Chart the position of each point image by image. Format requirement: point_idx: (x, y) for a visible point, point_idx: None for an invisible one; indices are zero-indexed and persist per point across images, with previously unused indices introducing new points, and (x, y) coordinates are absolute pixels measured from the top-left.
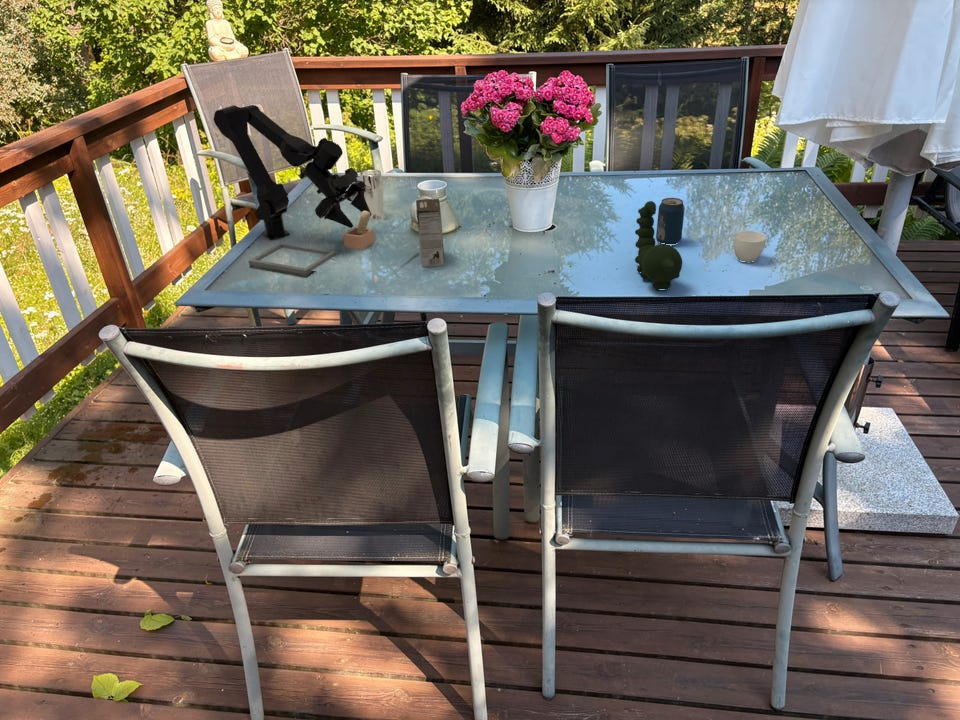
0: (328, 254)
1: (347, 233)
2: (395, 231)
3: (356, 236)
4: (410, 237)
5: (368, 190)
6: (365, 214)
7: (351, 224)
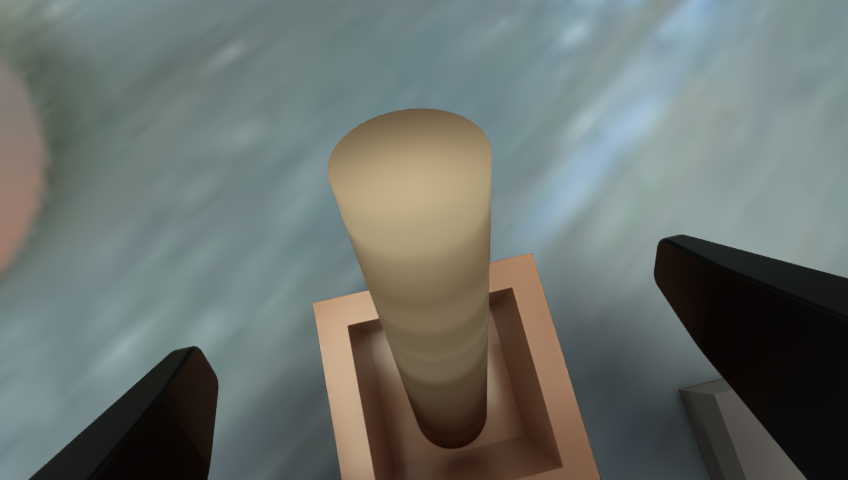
0: None
1: (547, 471)
2: (36, 393)
3: (547, 304)
4: (103, 204)
5: None
6: (454, 136)
7: (702, 241)
